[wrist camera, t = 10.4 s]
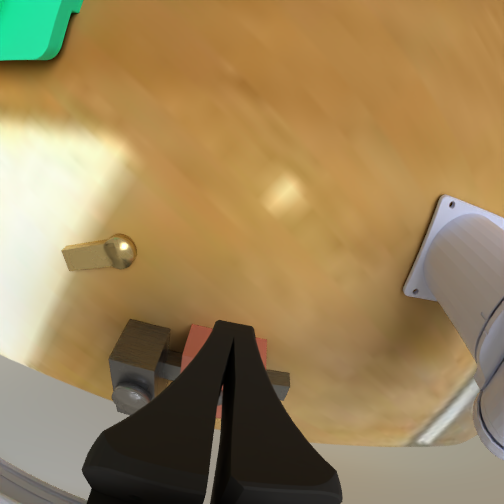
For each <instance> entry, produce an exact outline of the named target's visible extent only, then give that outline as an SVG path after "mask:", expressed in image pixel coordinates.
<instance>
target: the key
mask: <svg viewBox="0 0 504 504" xmlns="http://www.w3.org/2000/svg"><path fill="white" fill-rule="evenodd" d="M62 253H63V256H64V258H65V261H66V263H67V266H68V269H69V271H74V270H83V269H92V268H102V267H111V266H113V267H114V268H117V269H125V268H127V267H129V266H130V265H131V263H132V262H133V261H134V259H135V258H136V255H137V249H136V246H135V244H134V242H133V241H132V240H131V239H130V238H129V237H128V236H126V235H124V234H115V235H113V236H111V237H110V238H109V239H107V240H100V241H94V242H88V243H81V244H75V245H69V246H66V247H65V248H64V249H63V250H62Z"/></svg>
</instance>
